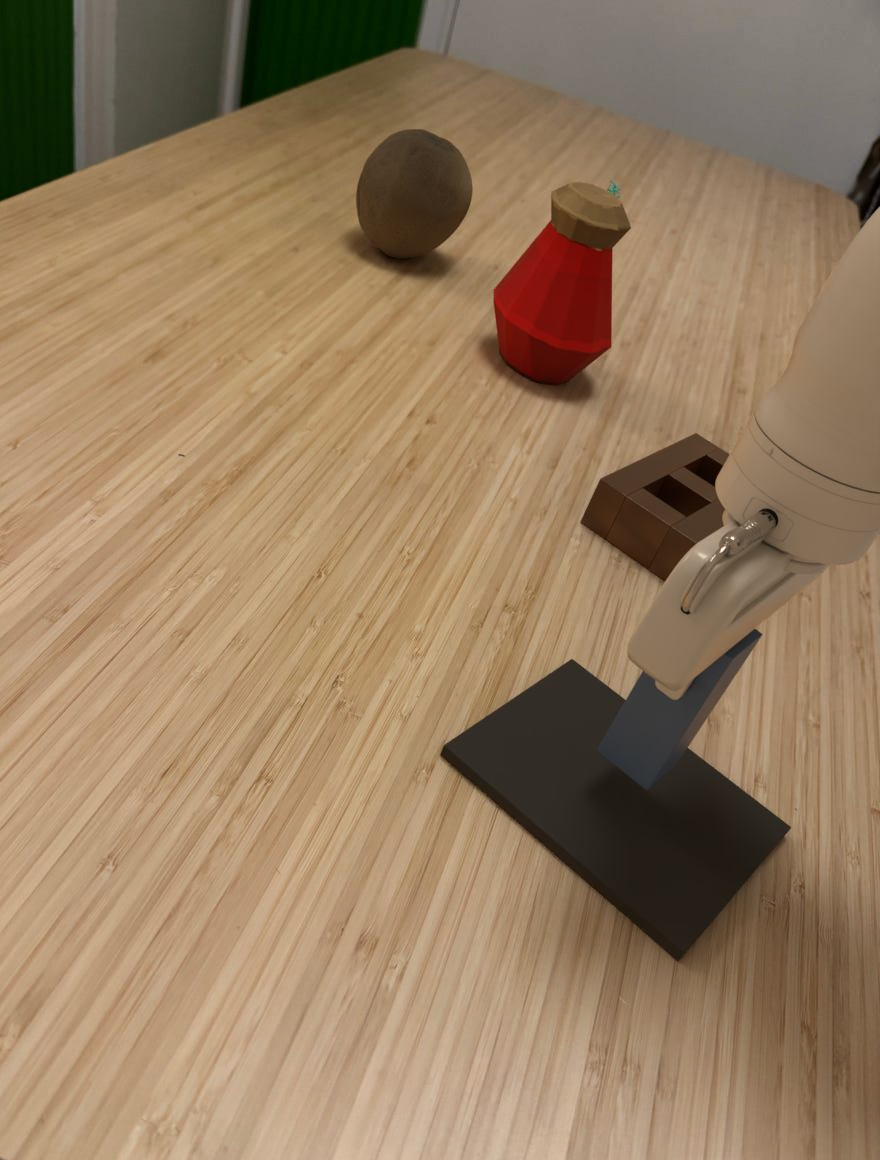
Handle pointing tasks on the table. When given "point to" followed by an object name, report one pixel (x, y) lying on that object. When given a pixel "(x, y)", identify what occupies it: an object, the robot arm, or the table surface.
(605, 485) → the peg block
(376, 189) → the cantaloupe
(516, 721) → the mat
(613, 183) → the anatomy model
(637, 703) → the peg
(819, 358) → the robot arm
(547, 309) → the bottle
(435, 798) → the table surface
